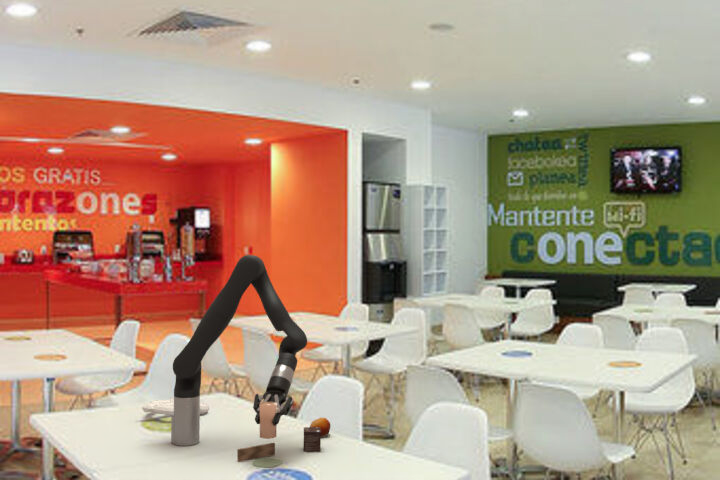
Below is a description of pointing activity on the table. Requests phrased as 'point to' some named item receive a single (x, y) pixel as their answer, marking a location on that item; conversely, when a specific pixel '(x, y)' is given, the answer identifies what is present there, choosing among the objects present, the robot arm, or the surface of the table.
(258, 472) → the table surface
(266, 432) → the peach dome-topped cylinder
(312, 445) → the box
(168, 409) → the pretzel
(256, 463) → the coaster
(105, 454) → the table surface
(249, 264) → the robot arm
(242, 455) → the rail
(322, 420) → the fruit
